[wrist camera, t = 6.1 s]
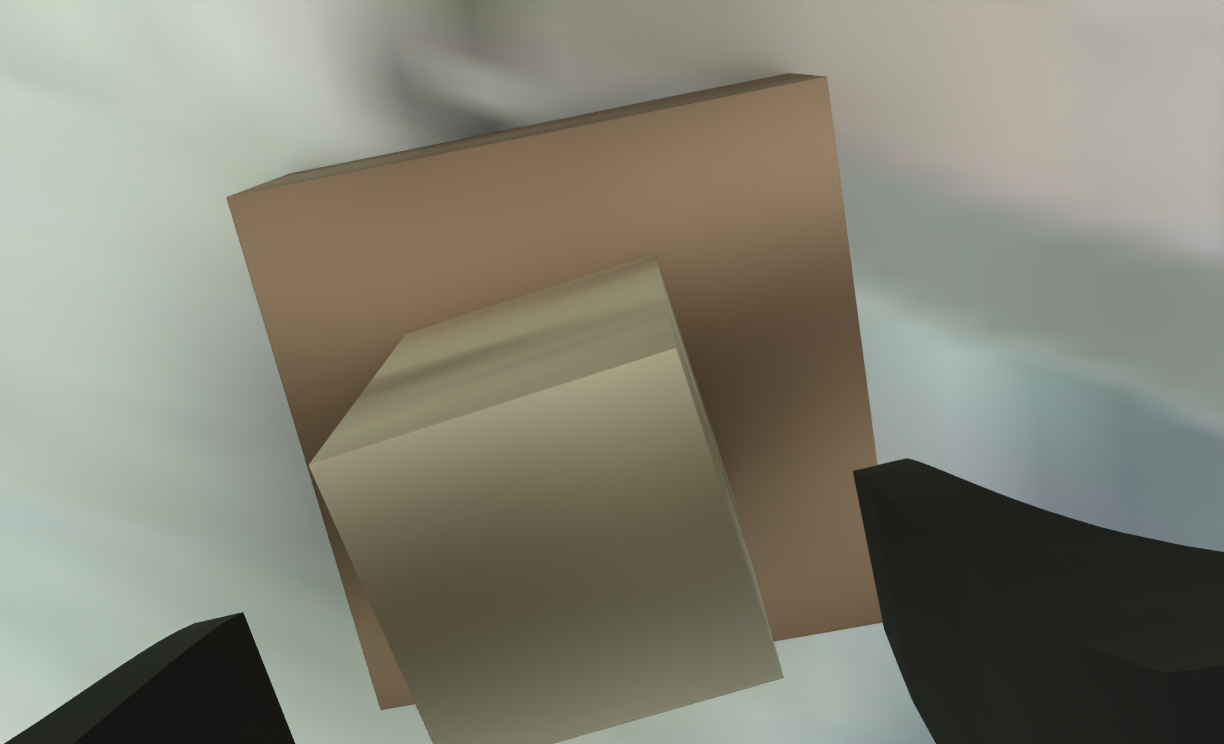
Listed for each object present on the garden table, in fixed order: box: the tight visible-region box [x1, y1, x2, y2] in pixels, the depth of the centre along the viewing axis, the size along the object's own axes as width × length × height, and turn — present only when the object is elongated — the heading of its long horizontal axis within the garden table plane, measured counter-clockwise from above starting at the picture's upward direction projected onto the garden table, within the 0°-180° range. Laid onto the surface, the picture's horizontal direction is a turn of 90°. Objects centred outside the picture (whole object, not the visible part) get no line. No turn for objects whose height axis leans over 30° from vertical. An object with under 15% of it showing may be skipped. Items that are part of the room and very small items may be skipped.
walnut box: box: [226, 73, 883, 710], centre depth 20 cm, size 10×10×4 cm
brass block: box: [309, 253, 784, 744], centre depth 15 cm, size 4×4×6 cm
